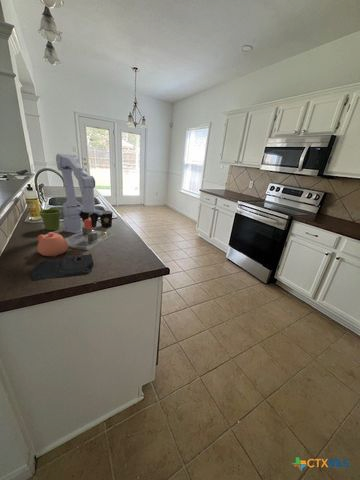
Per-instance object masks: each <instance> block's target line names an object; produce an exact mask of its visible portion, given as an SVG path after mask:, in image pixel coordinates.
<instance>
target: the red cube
mask: <svg viewBox="0 0 360 480" xmlns="http://www.w3.org/2000/svg"><path fill="white" fill-rule="evenodd" d="M83 225H84V226H83V227H85V228H86V229H91V230H94V229H95V228H97V226H96V227H92V221H91V218H90V217H89V218H88V219H86V220H84V222H83Z"/></svg>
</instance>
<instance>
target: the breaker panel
mask: <svg viewBox="0 0 360 480" xmlns="http://www.w3.org/2000/svg"><path fill="white" fill-rule="evenodd" d="M91 232H97V239H95V240H93V241H92V240H88V234H83V232H82V231H80V232H78V233H74V234H73V235H70V236H68V237H66V238H65V237H64V239H65V240H66V242H67V244H68V248H72V249H77V250H83V251H86V252H87V251H90V250H91V249H93V248H94V247H96V246H98V245H99V244H101V243H103V242H105V241H107V240H108V239H110V238H112V237H114V233H113V232H107V231H101V230H100V231H99V230H95V229H91Z"/></svg>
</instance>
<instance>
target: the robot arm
mask: <svg viewBox="0 0 360 480" xmlns="http://www.w3.org/2000/svg"><path fill="white" fill-rule="evenodd" d="M55 162H56V168H57V169H58V171H60V172H61V175H62V180H63V185H64V191H65V195H66V201H65V202H63V204H62V213H63V216H64V217H63V219H62V220H63V221H62V223H63V232H68V233H73V234H77V233H79V232H82V228H83V227H82V222H83V223H84V220H86V219H88V218H90V219H91V221H92V227H96V228H97V222H98V221H99V219H100V217H99V216H100V215H103V211H104V210H100V209H96V206H95V205H96V204H95V191H94V189H96V188H95V187H96V180H95V177H94V176H92V175H89V174H88V173H87V171H86V170H85V169H84V168H83V167H81V166H80V165H79V158H78V156H77V155H76V154H63V153H57V154H56V156H55ZM72 174H73V175H72ZM73 176H74V177H75V178H76V180H77V181H78V187H79V192H80V193H81V202H79V201H78V200H77V197H76V192H75V186H74V179H73ZM97 220H98V221H97Z"/></svg>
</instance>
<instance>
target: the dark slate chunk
mask: <svg viewBox="0 0 360 480" xmlns="http://www.w3.org/2000/svg"><path fill="white" fill-rule="evenodd" d="M93 259H94V258H93V255H92V253H88V254H81V255H80V256H78V257H77V256H76V255H71V256H68V255H65V256H62V257H61V258H58V259H51V260H40V261H37V262H36V263H35V265H34V267H33V269H32V272H31V280H32V281H33V282H35V281H43V280H53V279H61V278H69V277H76V276H85V275H89V274H90V273H92V272H93V267H94V260H93Z"/></svg>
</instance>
